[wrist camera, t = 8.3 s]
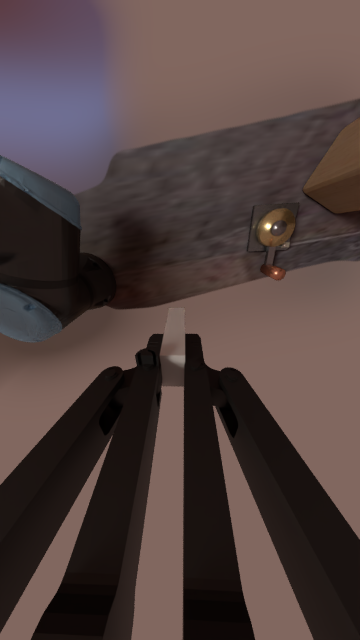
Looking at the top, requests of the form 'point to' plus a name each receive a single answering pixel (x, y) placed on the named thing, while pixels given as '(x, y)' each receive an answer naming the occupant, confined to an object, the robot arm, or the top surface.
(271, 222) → the crank handle
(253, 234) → the level base
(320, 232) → the top surface
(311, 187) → the wooden block
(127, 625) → the robot arm
